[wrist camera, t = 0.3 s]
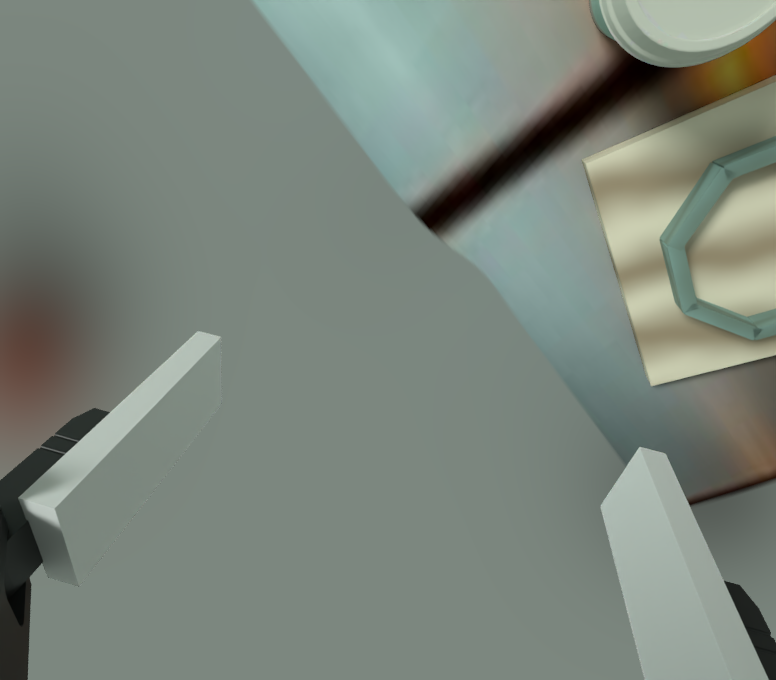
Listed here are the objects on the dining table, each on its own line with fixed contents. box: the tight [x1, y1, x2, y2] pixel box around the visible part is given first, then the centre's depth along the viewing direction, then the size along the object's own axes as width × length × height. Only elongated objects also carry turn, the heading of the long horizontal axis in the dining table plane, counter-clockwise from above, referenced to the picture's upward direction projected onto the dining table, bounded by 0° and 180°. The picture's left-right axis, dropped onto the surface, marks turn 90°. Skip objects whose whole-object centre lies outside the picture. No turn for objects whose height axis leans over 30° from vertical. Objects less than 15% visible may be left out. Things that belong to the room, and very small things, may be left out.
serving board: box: [582, 75, 776, 386], centre depth 32 cm, size 20×20×3 cm
